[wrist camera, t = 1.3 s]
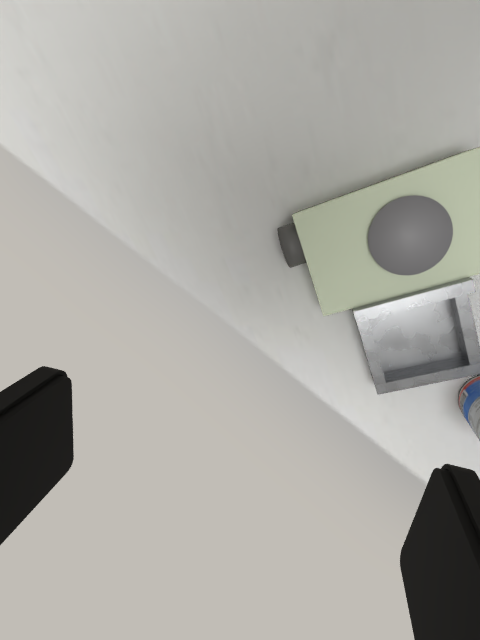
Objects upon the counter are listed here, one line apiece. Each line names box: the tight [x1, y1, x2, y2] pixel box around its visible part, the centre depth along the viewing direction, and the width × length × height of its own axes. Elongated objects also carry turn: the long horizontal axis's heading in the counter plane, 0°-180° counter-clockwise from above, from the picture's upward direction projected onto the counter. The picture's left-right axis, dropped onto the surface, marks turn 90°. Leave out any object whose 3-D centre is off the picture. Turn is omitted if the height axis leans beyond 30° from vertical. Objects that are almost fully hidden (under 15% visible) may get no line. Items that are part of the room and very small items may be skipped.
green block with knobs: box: [278, 147, 480, 316], centre depth 31 cm, size 17×9×4 cm, turn 110°
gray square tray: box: [352, 277, 480, 394], centre depth 33 cm, size 9×9×4 cm
